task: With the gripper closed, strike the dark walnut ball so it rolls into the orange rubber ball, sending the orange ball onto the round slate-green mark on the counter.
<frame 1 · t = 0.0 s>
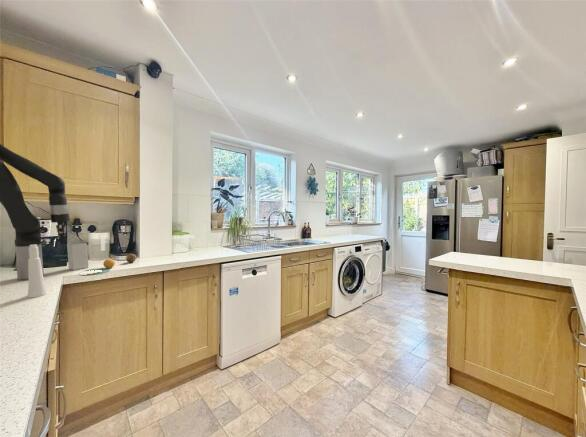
hand: (63, 242, 139), 17 cm above the countertop, tool pointing down, fingers open, 8 cm apart
object ball: (109, 263, 149), on the countertop
cosmetic bottle: (37, 295, 108), on the countertop
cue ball: (131, 258, 162), on the countertop
milk carton: (78, 268, 149), on the countertop
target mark: (95, 271, 142), on the countertop
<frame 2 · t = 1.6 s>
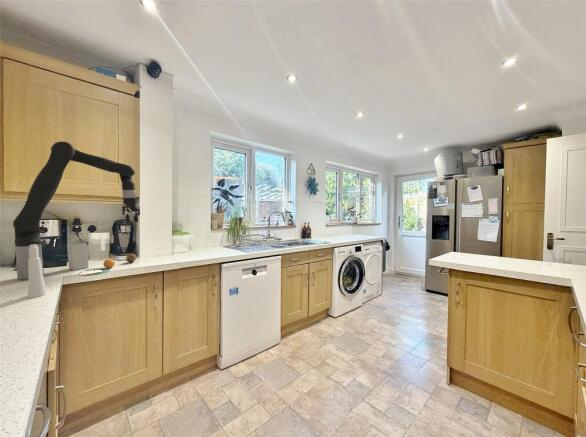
hand: (132, 221, 165), 26 cm above the countertop, tool pointing down, fingers open, 8 cm apart
nothing on the countertop moved.
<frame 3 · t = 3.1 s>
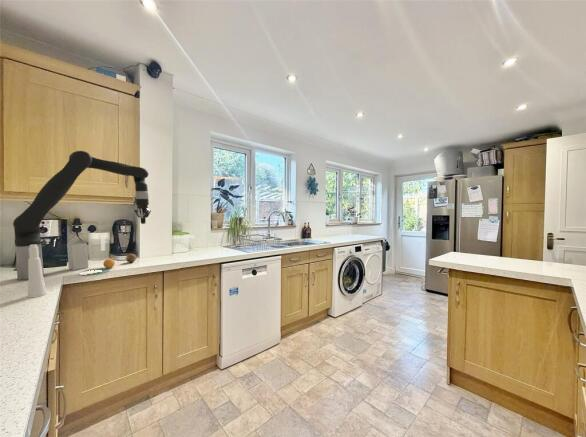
hand: (143, 223, 170), 24 cm above the countertop, tool pointing down, fingers closed
nothing on the countertop moved.
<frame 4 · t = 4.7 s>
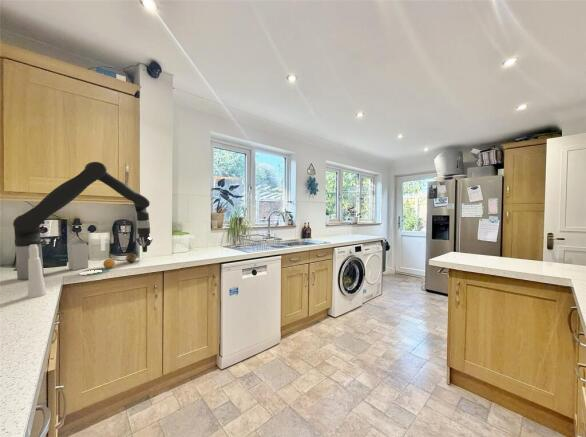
hand: (144, 251, 172), 5 cm above the countertop, tool pointing down, fingers closed
nothing on the countertop moved.
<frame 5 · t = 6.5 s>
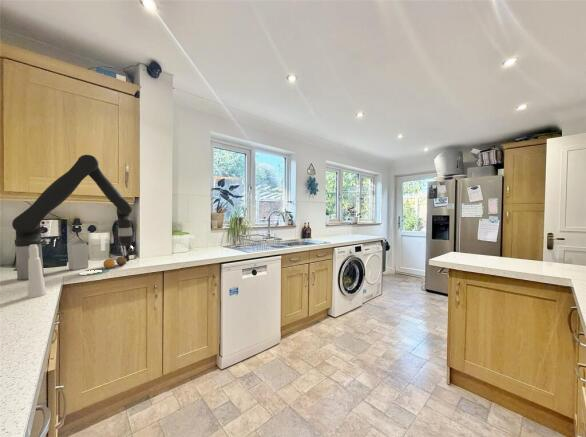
hand: (126, 261, 160), 1 cm above the countertop, tool pointing down, fingers closed
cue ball: (121, 260, 156), on the countertop
everything else where it was.
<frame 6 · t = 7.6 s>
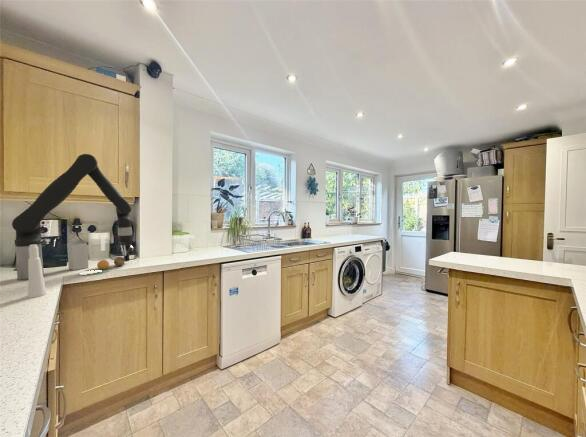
hand: (126, 261, 160), 2 cm above the countertop, tool pointing down, fingers closed
object ball: (103, 264, 146), on the countertop
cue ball: (119, 261, 154), on the countertop
everything else where it was.
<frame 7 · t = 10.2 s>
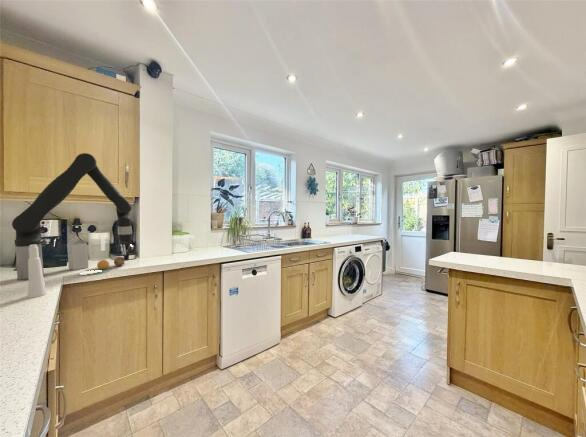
hand: (126, 260, 160), 2 cm above the countertop, tool pointing down, fingers closed
nothing on the countertop moved.
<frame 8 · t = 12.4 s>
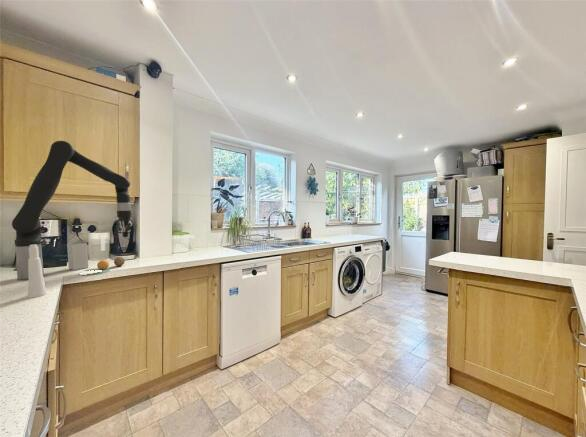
hand: (125, 237, 158), 17 cm above the countertop, tool pointing down, fingers closed
nothing on the countertop moved.
at the end: object ball 4.6 cm from the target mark (horizontally); object ball never touched the robot; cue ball first touched object ball at 6.6 s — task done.
